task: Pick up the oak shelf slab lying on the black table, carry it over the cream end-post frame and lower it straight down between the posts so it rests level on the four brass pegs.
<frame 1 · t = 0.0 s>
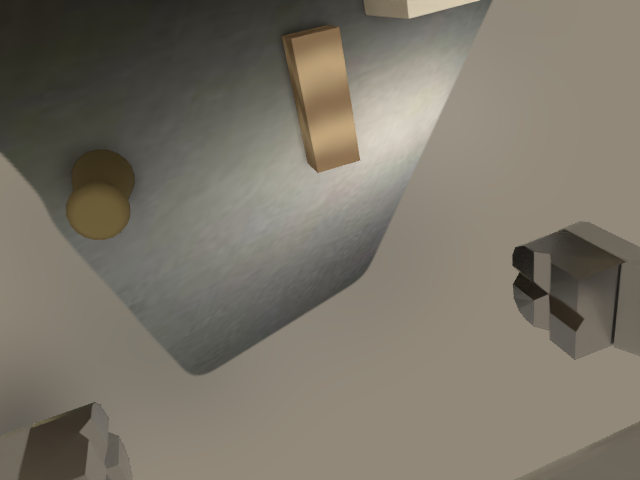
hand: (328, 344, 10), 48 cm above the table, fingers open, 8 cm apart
shelf board: (316, 97, 57), on the table
cork: (103, 177, 54), on the table
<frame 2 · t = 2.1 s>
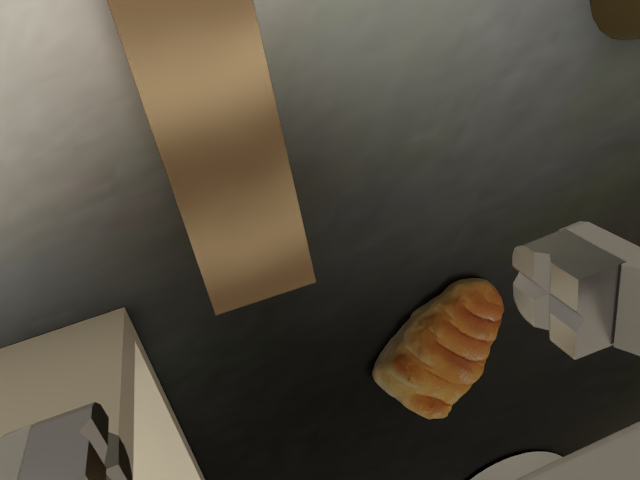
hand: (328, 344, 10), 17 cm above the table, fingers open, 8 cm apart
shelf board: (215, 138, 25), on the table
pastry: (426, 336, 35), on the table
peg frame: (102, 472, 30), on the table
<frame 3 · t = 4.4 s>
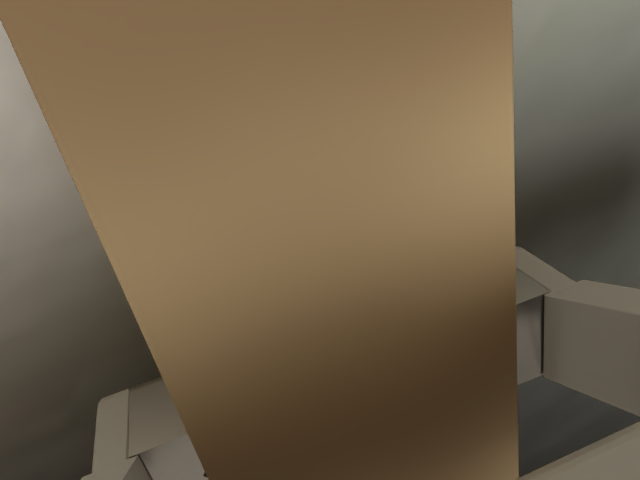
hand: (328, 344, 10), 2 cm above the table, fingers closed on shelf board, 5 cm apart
shelf board: (301, 297, 11), on the table, touching gripper
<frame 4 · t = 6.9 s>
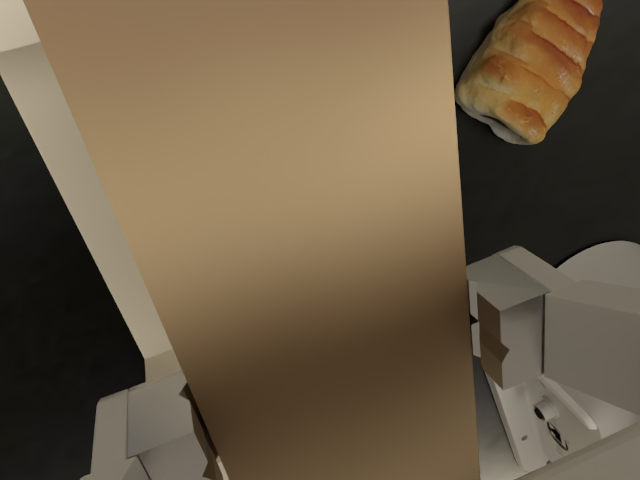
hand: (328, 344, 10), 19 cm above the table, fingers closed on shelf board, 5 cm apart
shelf board: (284, 262, 12), point 16 cm above the table, touching gripper
pastry: (510, 62, 30), on the table
peg frame: (178, 188, 27), on the table
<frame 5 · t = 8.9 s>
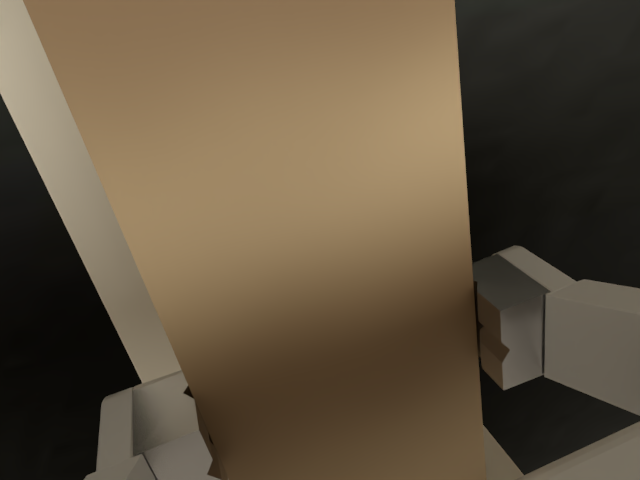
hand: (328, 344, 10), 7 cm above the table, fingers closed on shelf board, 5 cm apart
shelf board: (288, 267, 12), point 4 cm above the table, touching gripper, peg frame
peg frame: (260, 212, 16), on the table
when the fingers open (7 cm above the table, at t = 9.2 s): shelf board stays where it is, resting on peg frame.
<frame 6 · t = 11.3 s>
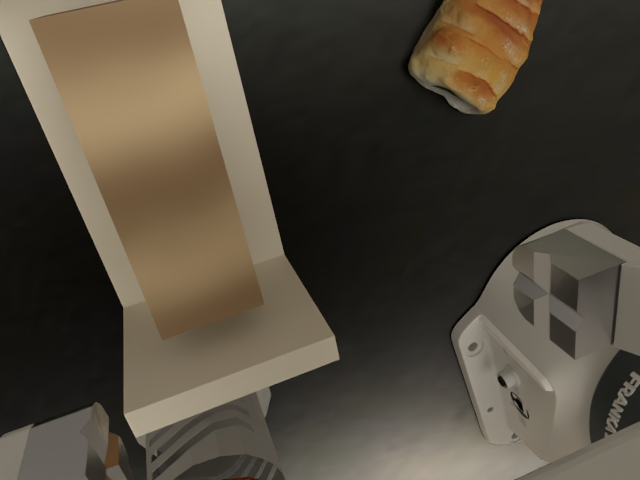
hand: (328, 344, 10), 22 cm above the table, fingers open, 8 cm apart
french press: (191, 412, 37), on the table
shelf board: (161, 161, 25), point 4 cm above the table, touching peg frame
pastry: (462, 35, 32), on the table
peg frame: (159, 143, 28), on the table
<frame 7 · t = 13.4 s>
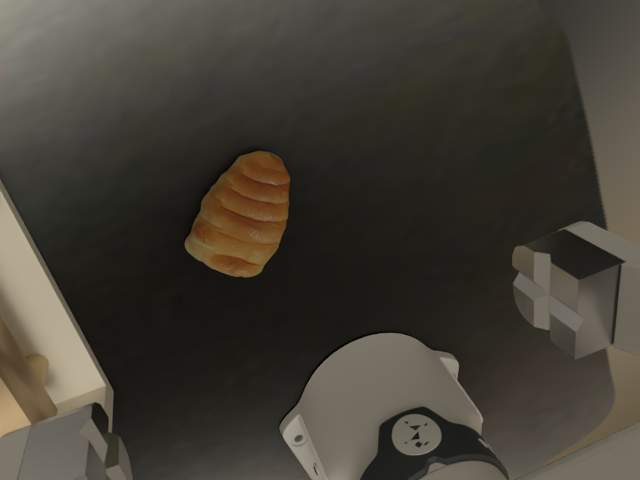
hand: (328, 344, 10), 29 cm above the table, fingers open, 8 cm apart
pastry: (236, 212, 40), on the table
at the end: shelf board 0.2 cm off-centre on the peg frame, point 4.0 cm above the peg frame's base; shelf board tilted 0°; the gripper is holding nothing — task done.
